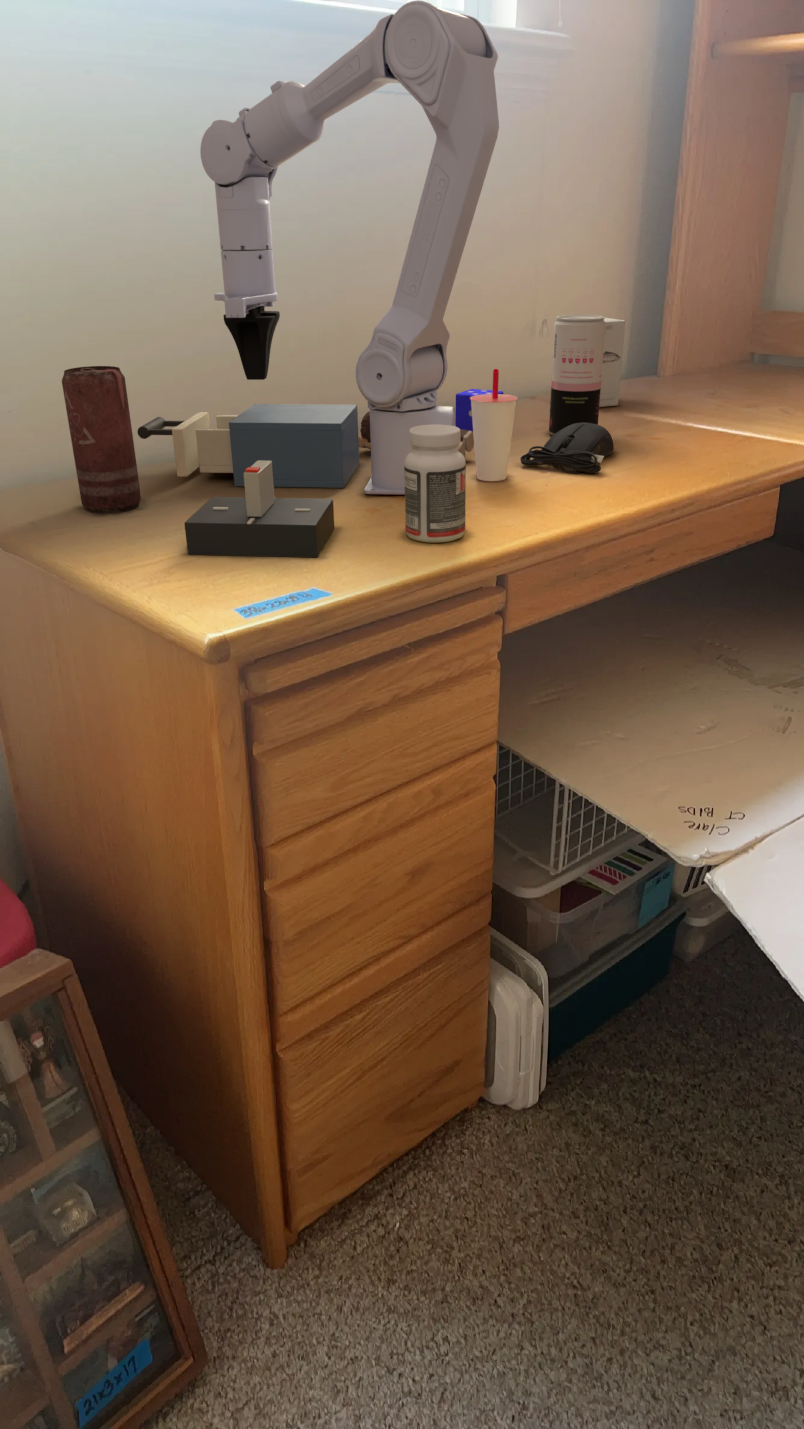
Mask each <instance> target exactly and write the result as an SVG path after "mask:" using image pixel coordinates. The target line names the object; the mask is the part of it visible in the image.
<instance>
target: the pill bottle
mask: <svg viewBox="0 0 804 1429" xmlns="http://www.w3.org/2000/svg"><path fill="white" fill-rule="evenodd" d="M460 442H461V440H460V429H459V428H458V427H455V426H450V425H440V424H431V425H420V426H415V427H412V428H411V429H410V430H409V443H410V444H411V446H412V452H411V453H409V454H408V455H407V457H406V459H405V464H404V472H405V495H404V522H405V523H404V525H405V528H404V529H405V534H406V535H407V537H408V538H410V539H411V540H414V541H417V542H421V543H428V544H429V543H431V544H436V543H437V544H441V543H448V542H449V543H450V542H453V541H456V540H458V539H460V538H462V537H463V536H464V535H465V532H466V500H467V499H466V496H467V494H466V488H467V487H466V485H467V484H466V483H467V482H466V478H467V476H466V474H467V464H466V457H465V458H464V456H463V455H462V454H461V453H460V452H459V451H458V448H457V446H458V445H459V443H460Z"/></svg>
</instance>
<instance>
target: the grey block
mask: <svg viewBox="0 0 804 1429" xmlns="http://www.w3.org/2000/svg"><path fill="white" fill-rule="evenodd" d="M244 485H245V486H244V495H245V496H244V497H246V508H247V516H248V517H262V516H263V515H264V514H265V513H266V512H267V510H268V509H269V508H270V507H271V506H272V505H273V504H274V503H275V499H274V498H275V490H274V489H275V487H274V485H273V471H272V461H264V460H258V461H257V462H255V463H254V464H253V465H252V466H251V467H248V468H247V469H246V470H245V472H244Z"/></svg>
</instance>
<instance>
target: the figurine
mask: <svg viewBox="0 0 804 1429" xmlns="http://www.w3.org/2000/svg"><path fill="white" fill-rule="evenodd" d="M359 429H360V436H358V442H359V448H362V449H368V450H370V451H371V439H370V410H369V411H367V412H366V413H365V414H364V415H363V417H362V418H361V421H360V428H359ZM460 440H461V442H460V443H459V445H458V446H457V448H458V451H459V452H460V453H461V454H462V455H463V456H464V458H465V459H466V452H468V453H470V452H472V451H473V449H474V435H473V431H469V430H464V429H460Z"/></svg>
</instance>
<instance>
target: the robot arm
mask: <svg viewBox="0 0 804 1429" xmlns="http://www.w3.org/2000/svg"><path fill="white" fill-rule="evenodd" d="M498 60H499V54H498V51H497V50H496V48H495V45H494V44H493V42H492V39H491V38H490V36H489V34H488V32H487V30H486V28H485V26H484V25H483V24H482V23H481V22H480V20H478V19H477V18H476V17H474V16H472V15H469V14H464V13H456V12H453V11H450V10H447V9H444V8H441V7H437V6H435V5H433V4H432V3H431V2H428V1H425V0H411V1H408V2H407V3H404V4H403V5H402V6H400V7H399V8H398V9H397V10H396V11H395V13H394V14H393V13H391V14H389V15H388V14H387V15H386V16H384V17H382V18H381V19H379V20H378V22H377V23H376V24H375V27H374V28H373V29H372V31H371V32H370V33H368V35H366V36H365V37H364V38H363V39H361V40H360V41H359V42H357V44H356V45H354V46H353V47H352V48H350V49H349V50H348V51H347V52H345V53H344V54H343V55H342V56H340V57H339V58H338V59H337V60H336V61H335V62H333V63H332V64H330V65H329V66H328V67H327V68H326V69H324V70H323V71H322V72H321V73H319V74H318V75H317V76H316V77H315V78H313V79H312V80H311V81H310V82H309V83H308V84H306V85H304V84H302V83H301V82H298V81H294V80H289V81H281V80H277V81H276V82H274V83H273V84H271V85H270V91H271V93H270V94H269V95H268V96H266V97H264V98H263V99H262V100H260V101H259V102H258V103H257V104H255V105H254V106H252V107H244V108H242V109H241V110H239V111H238V117H237V118H236V119H235V120H234V121H233V122H232V121H229V120H226V119H217V120H213V122H212V123H211V125H210V126H209V127H208V128H207V129H206V130H205V131H204V133H203V136H202V138H201V142H200V152H199V153H200V160H201V164H202V167H203V169H204V172H205V173H206V175H207V177H209V178H210V180H211V181H212V182H214V190H215V201H216V213H217V214H216V215H217V223H218V224H217V225H218V235H219V247H220V257H221V268H222V280H223V281H222V282H223V292H216V293H213V295H214V296H213V297H214V301H222V302H223V303H224V310H225V311H224V313H225V314H223V323H224V324H225V326H226V327H227V329H228V330H229V332H230V335H231V336H232V338H233V341H234V343H235V345H236V348H237V351H238V354H239V359H240V361H241V365H242V368H243V372H244V375H245V377H246V380H249V381H264V380H265V379H267V377H268V373H269V367H270V357H271V350H272V349H271V348H272V344H273V338H274V333H275V332H276V328H277V325H278V322H279V321H280V316H281V315H280V314H281V313H280V311H279V310H277V311H276V310H265V308H267V307H268V308H270V307H272V308H273V307H275V302H278V300H279V294H278V292H277V290H276V289H277V288H276V276H275V261H274V249H273V248H274V247H273V233H272V232H273V231H272V230H273V229H272V218H271V216H272V215H271V202H270V201H271V197H273V190H272V187H273V186H272V185H273V181H274V178H275V176H276V175H277V171H278V169H279V168H278V167H280V166H281V165H283V164H284V163H286V162H288V161H289V160H291V159H292V158H293V157H295V156H296V155H298V154H299V153H301V152H303V151H304V150H305V149H307V148H309V147H310V146H312V145H314V143H316V142H318V141H320V139H321V138H322V135H323V132H324V125H325V121H326V119H329V118H330V117H332V116H334V115H335V114H337V113H340V112H341V111H342V110H344V109H346V108H347V107H349V106H351V105H353V104H355V103H356V102H358V101H360V100H361V99H363V98H364V97H366V96H368V95H370V94H372V93H373V92H375V91H377V90H379V89H380V88H381V87H384V86H386V85H388V84H400V85H401V86H402V87H403V88H404V89H405V90H406V91H407V92H408V93H409V94H410V95H411V96H412V97H413V99H414V100H416V102H417V103H418V104H419V105H420V106H421V107H422V108H423V109H422V110H423V111H424V114H425V115H426V117H427V119H428V121H429V123H430V126H431V128H432V129H433V131H434V133H435V136H436V139H435V142H434V143H435V144H434V147H433V151H432V155H431V158H430V162H429V166H428V169H427V173H426V177H425V181H424V185H423V189H422V192H421V196H420V200H419V204H418V208H417V211H416V213H415V214H416V215H415V219H414V222H413V226H412V230H411V234H410V237H409V241H408V245H407V249H406V252H405V256H404V259H403V263H402V267H401V271H400V274H399V278H398V281H397V286H396V289H395V292H394V298H393V300H392V304H391V306H390V308H389V309H388V311H387V312H386V313H385V314H384V315H383V317H382V318H381V319H380V320H379V321H378V323H377V324H376V325H375V327H374V329H373V331H372V335H371V339H370V341H369V343H368V344H367V347H365V349H364V350H362V352H361V353H360V355H359V357H358V359H357V361H356V365H355V381H356V384H357V388H358V390H359V392H360V393H361V395H362V397H363V398H364V399H365V400H366V401H367V409H369V411H370V439H371V450H370V468H371V470H370V471H371V472H370V473H371V475H370V476H371V477H370V479H369V480H368V482H367V483H366V486H365V487H364V489H363V494H365V495H393V496H395V495H396V496H399V495H400V496H403V495H404V496H405V472H404V464H405V459H406V457H407V455H408V454H409V453H411V452H412V446H411V444H410V443H409V430H410V429H411V428H412V427H415V426H420V425H431V424H440V425H450V426H455V418H456V408H455V407H454V406H447V405H438V404H437V400H438V395H437V394H438V390H440V388H441V387H442V385H443V384H444V382H445V381H446V378H447V375H448V374H447V373H448V358H447V348H448V344H449V341H450V336H451V335H450V332H449V330H448V328H447V326H446V324H445V322H444V316H445V314H446V310H447V307H448V303H449V300H450V297H451V293H452V290H453V287H454V285H455V284H454V283H455V280H456V276H457V273H458V269H459V267H460V263H461V260H462V257H463V252H464V250H465V246H466V243H467V240H468V236H469V233H470V230H471V227H472V223H473V220H474V217H475V213H476V210H477V207H478V203H479V200H480V196H481V193H482V190H483V187H484V183H485V180H486V177H487V173H488V170H489V166H490V163H491V160H492V156H493V153H494V150H495V147H496V142H497V141H498V136H499V129H500V122H499V109H498V100H497V89H496V88H497V87H496V78H495V70H496V67H497V63H498Z"/></svg>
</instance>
